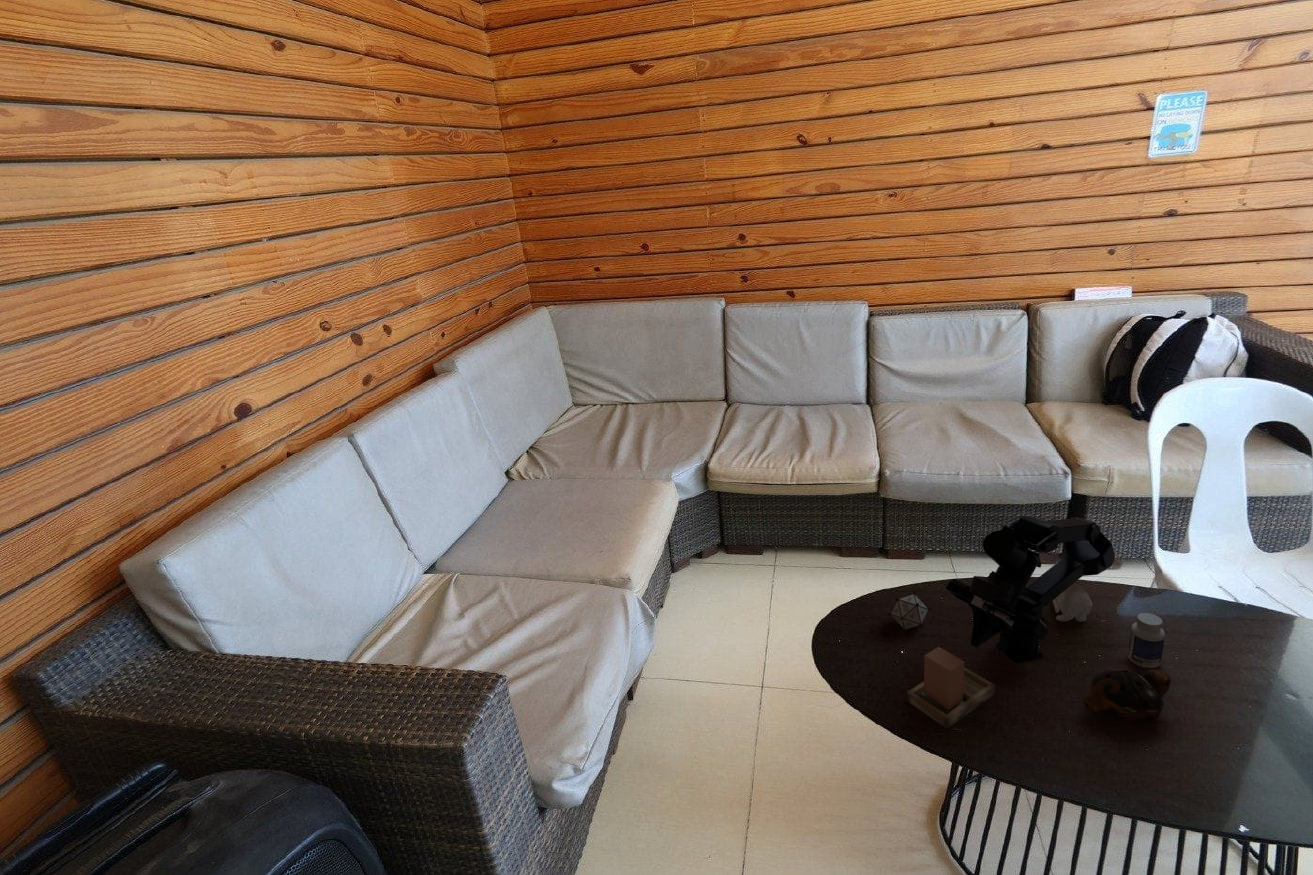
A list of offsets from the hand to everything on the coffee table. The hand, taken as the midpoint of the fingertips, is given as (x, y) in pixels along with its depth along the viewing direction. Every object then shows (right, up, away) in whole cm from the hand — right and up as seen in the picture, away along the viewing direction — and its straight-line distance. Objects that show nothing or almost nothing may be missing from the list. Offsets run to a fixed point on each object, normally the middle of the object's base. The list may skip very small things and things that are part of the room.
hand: (973, 646), depth 130 cm
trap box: (-4, -10, 0) cm, 11 cm away
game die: (-4, -3, +22) cm, 22 cm away
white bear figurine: (+30, +1, +20) cm, 36 cm away
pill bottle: (+36, -4, +4) cm, 36 cm away
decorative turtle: (+24, -10, -8) cm, 27 cm away
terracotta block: (-6, -9, -1) cm, 11 cm away
